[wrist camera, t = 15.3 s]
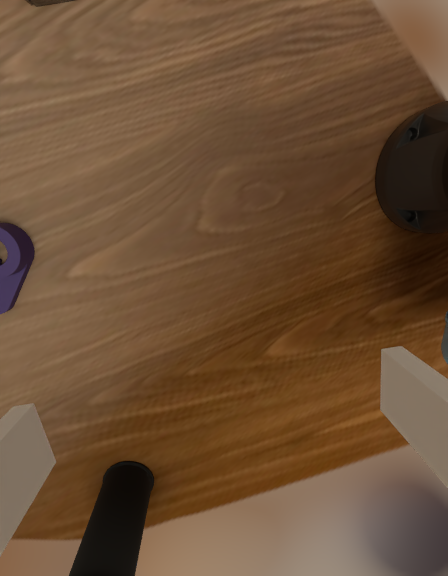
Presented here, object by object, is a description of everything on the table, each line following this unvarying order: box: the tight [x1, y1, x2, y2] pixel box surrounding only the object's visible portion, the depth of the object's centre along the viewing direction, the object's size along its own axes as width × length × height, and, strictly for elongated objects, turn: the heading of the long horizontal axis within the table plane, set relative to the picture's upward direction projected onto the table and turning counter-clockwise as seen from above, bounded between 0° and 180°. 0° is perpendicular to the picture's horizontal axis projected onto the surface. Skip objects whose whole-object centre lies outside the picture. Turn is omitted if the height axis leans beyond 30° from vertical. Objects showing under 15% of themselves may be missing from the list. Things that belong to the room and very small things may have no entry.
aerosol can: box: [69, 462, 154, 576], centre depth 38 cm, size 8×8×20 cm
